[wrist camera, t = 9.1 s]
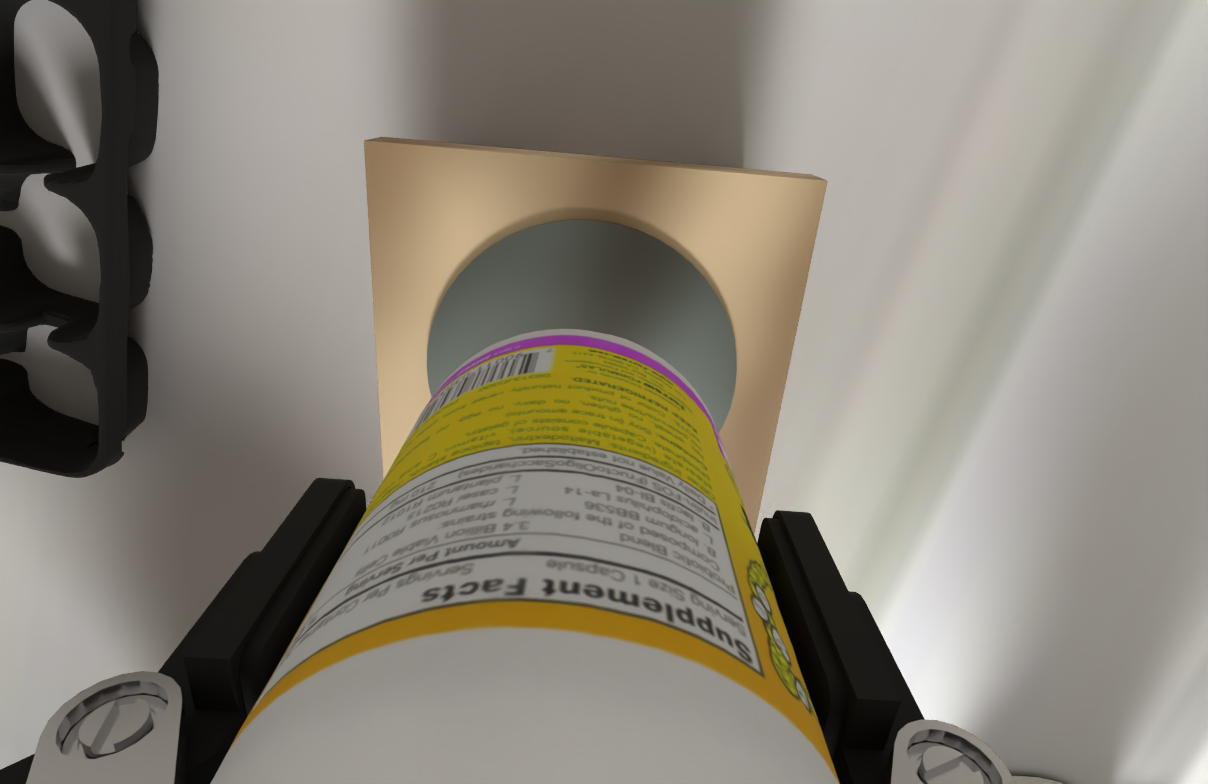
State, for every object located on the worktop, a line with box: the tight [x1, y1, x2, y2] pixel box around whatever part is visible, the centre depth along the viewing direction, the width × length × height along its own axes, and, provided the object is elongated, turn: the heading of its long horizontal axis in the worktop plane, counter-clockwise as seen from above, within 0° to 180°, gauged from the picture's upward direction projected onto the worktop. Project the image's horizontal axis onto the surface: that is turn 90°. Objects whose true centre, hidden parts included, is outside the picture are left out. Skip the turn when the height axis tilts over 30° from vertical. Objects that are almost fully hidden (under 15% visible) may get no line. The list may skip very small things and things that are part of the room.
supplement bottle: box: [210, 329, 840, 784], centre depth 9 cm, size 7×7×13 cm
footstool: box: [364, 137, 827, 533], centre depth 23 cm, size 12×12×8 cm
